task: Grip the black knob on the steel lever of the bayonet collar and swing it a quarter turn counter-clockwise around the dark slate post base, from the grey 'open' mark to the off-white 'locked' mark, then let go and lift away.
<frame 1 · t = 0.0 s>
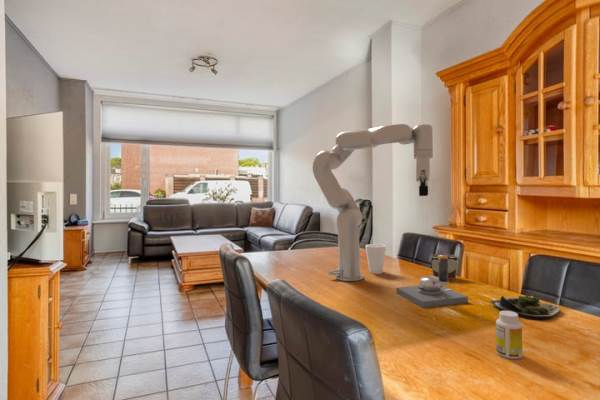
hand: (423, 195, 151), 37 cm above the table, tool pointing down, fingers open, 9 cm apart
foam cup: (376, 272, 173), on the table
supplement bottle: (509, 355, 88), on the table
post base: (430, 297, 133), on the table
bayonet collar: (434, 272, 130), point 10 cm above the table, hinge at 0.0°
salad plate: (524, 311, 118), on the table
food container: (442, 277, 162), on the table
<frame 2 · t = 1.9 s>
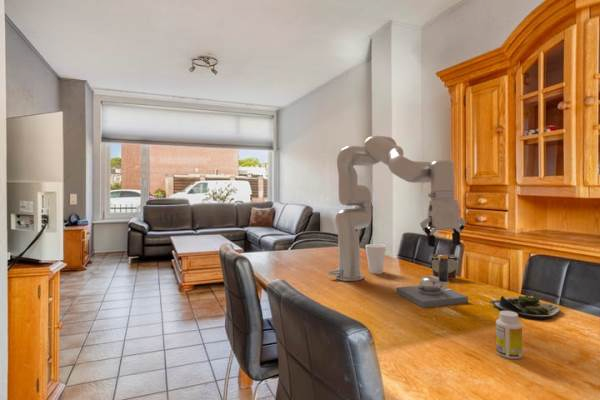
hand: (443, 245, 124), 21 cm above the table, tool pointing down, fingers open, 9 cm apart
nothing on the table moved.
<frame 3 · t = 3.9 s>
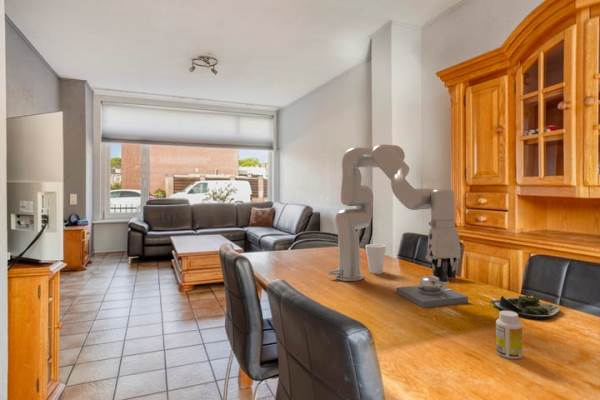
hand: (443, 276, 125), 10 cm above the table, tool pointing down, fingers closed on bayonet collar, 3 cm apart
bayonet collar: (434, 272, 130), point 10 cm above the table, hinge at 0.0°, touching gripper
everything else where it was.
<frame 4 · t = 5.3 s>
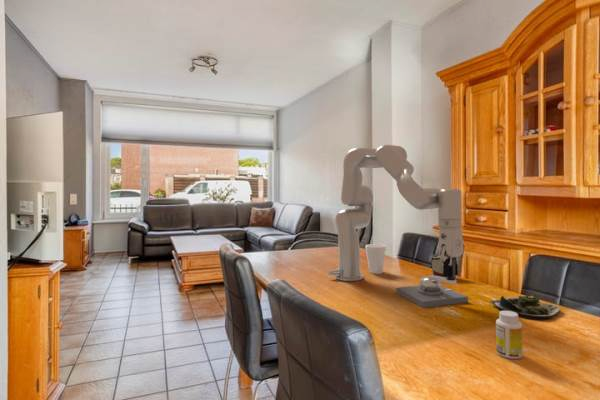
hand: (450, 275, 127), 10 cm above the table, tool pointing down, fingers closed on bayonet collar, 3 cm apart
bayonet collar: (437, 271, 130), point 10 cm above the table, hinge at 25.8°, touching gripper
everything else where it was.
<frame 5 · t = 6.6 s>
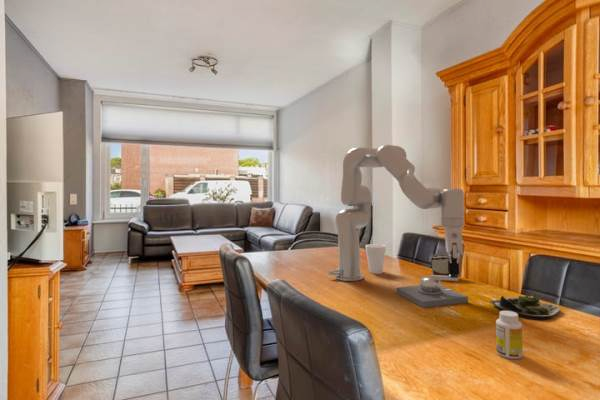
hand: (453, 272, 130), 10 cm above the table, tool pointing down, fingers closed on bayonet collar, 3 cm apart
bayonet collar: (438, 271, 132), point 10 cm above the table, hinge at 56.6°, touching gripper
everything else where it was.
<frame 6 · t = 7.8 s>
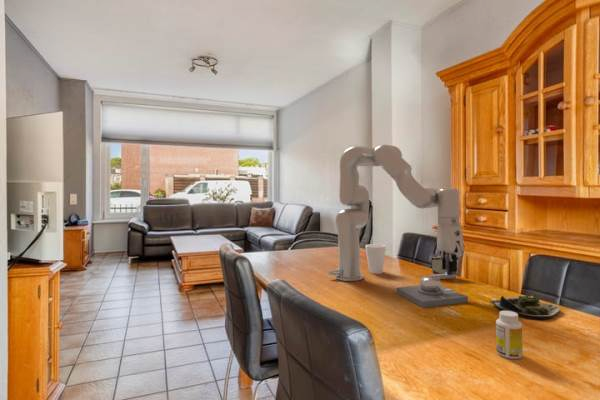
hand: (449, 269, 134), 10 cm above the table, tool pointing down, fingers closed on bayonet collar, 3 cm apart
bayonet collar: (437, 270, 133), point 10 cm above the table, hinge at 86.9°, touching gripper
everything else where it was.
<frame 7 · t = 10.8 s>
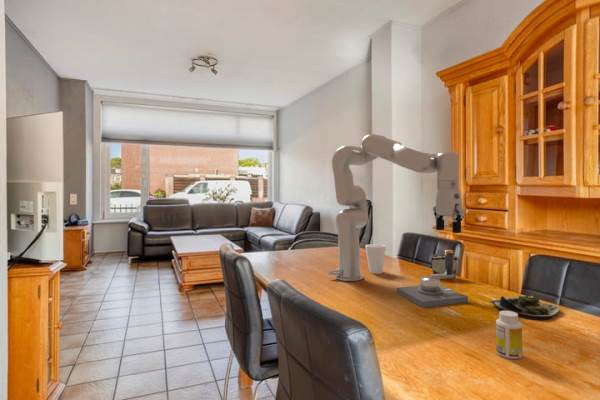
hand: (448, 231, 134), 24 cm above the table, tool pointing down, fingers open, 9 cm apart
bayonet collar: (437, 269, 133), point 10 cm above the table, hinge at 89.1°
everything else where it was.
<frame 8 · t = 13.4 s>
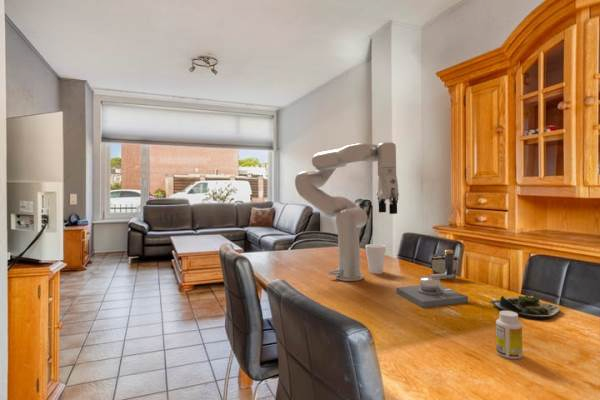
hand: (387, 213, 151), 30 cm above the table, tool pointing down, fingers open, 9 cm apart
nothing on the table moved.
at the end: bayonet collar at +89° (first picture: +0°); the gripper is holding nothing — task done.
